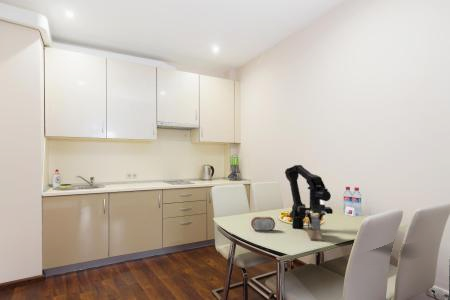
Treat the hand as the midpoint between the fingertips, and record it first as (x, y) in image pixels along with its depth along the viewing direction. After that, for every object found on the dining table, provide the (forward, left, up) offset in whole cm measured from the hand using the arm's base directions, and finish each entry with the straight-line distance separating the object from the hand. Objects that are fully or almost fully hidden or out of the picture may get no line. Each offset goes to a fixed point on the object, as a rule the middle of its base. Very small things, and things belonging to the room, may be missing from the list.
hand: (314, 224), depth 149 cm
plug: (0, 0, -1) cm, 1 cm away
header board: (0, +2, -7) cm, 7 cm away
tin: (-30, +6, -7) cm, 31 cm away
